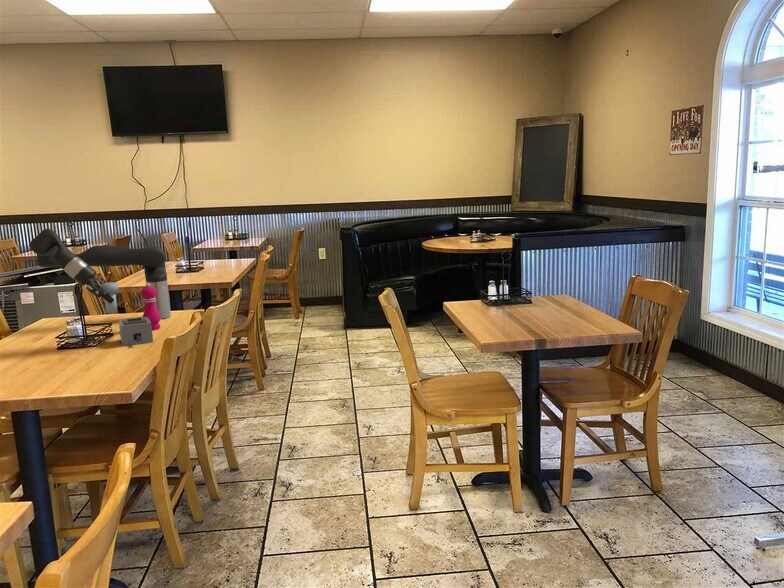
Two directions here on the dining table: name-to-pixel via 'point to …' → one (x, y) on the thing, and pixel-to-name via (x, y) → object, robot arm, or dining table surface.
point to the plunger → (137, 336)
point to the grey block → (135, 330)
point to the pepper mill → (150, 306)
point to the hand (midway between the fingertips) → (115, 300)
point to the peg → (111, 289)
